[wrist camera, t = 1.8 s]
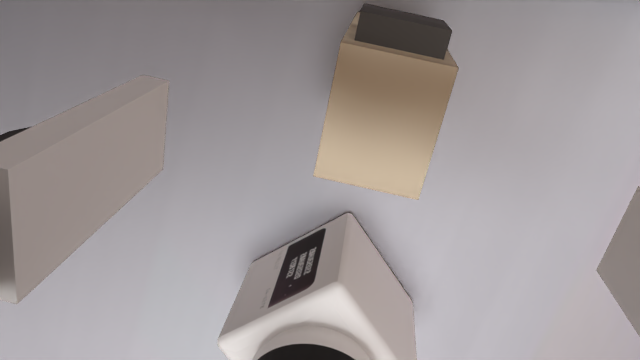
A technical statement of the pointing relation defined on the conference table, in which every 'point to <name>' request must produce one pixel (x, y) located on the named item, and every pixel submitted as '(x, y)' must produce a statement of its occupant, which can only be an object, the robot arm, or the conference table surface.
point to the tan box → (386, 101)
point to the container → (321, 302)
